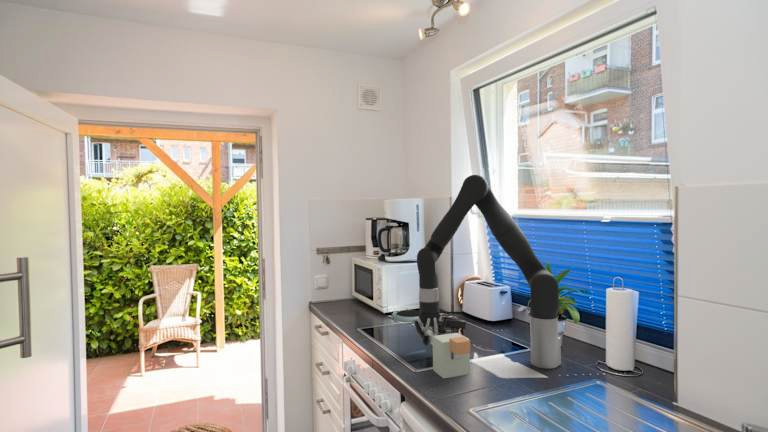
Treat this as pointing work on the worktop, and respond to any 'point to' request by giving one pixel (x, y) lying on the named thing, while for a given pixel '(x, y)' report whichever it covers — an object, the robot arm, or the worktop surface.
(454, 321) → the toy gun
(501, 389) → the worktop surface
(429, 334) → the shaft
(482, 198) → the robot arm
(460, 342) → the block
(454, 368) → the block
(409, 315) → the pale green frying pan
